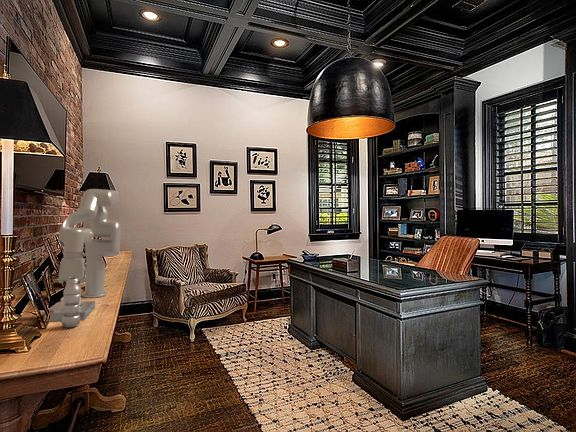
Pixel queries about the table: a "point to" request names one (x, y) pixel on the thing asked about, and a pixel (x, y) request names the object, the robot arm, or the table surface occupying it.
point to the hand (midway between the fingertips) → (71, 295)
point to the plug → (63, 303)
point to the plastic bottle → (71, 303)
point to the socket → (84, 310)
